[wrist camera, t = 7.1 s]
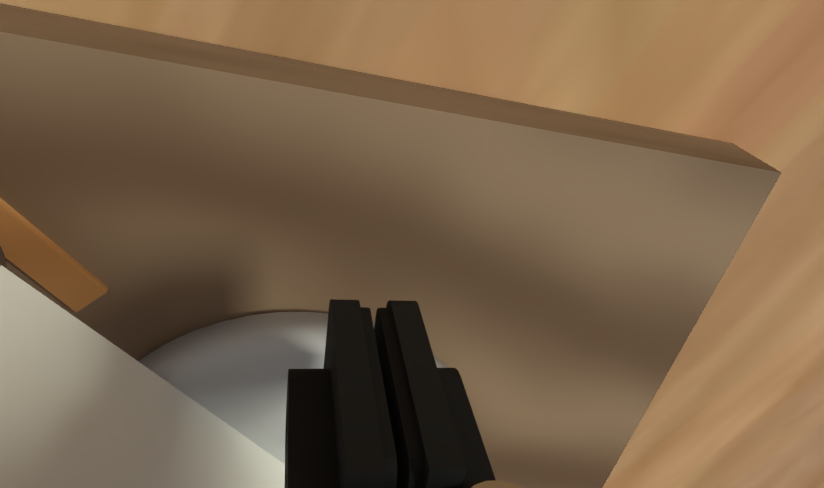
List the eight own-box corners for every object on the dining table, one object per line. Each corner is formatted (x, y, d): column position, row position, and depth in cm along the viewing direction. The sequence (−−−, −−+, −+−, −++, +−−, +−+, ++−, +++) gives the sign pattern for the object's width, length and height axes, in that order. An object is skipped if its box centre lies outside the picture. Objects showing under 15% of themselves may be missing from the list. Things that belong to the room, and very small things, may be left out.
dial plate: (502, 592, 28) (517, 644, 26) (-59, 615, 22) (-91, 683, 20) (733, 143, 17) (786, 175, 15) (-217, -38, 12) (-315, -22, 10)
